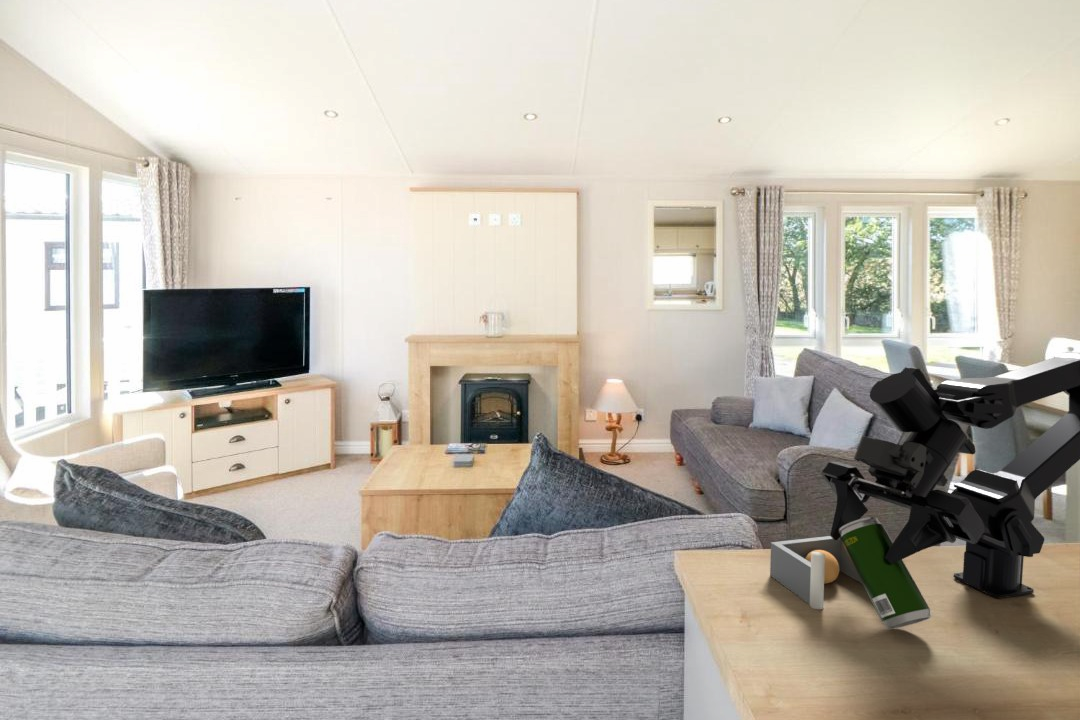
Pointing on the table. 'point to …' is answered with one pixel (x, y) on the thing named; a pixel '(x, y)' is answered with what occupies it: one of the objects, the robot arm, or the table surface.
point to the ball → (827, 566)
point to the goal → (808, 566)
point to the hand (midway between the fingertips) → (858, 549)
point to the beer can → (883, 574)
